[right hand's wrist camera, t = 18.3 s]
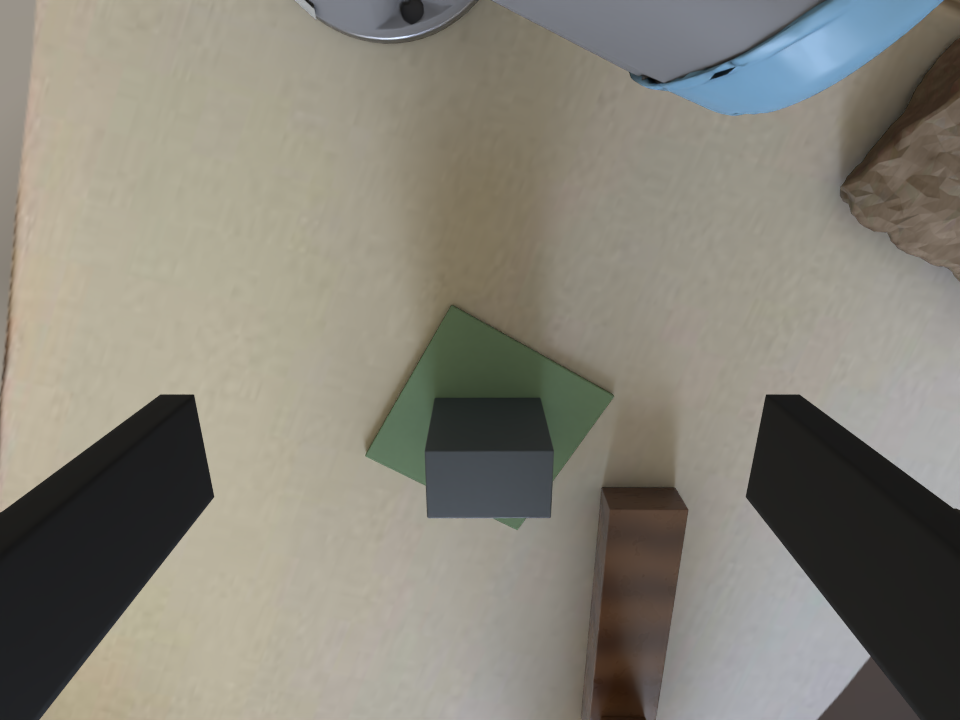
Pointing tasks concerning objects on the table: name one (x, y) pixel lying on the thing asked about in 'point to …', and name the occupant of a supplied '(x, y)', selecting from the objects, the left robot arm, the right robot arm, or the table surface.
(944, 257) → the stone
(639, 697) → the base plank
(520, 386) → the green mat
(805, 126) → the table surface
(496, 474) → the slate block
